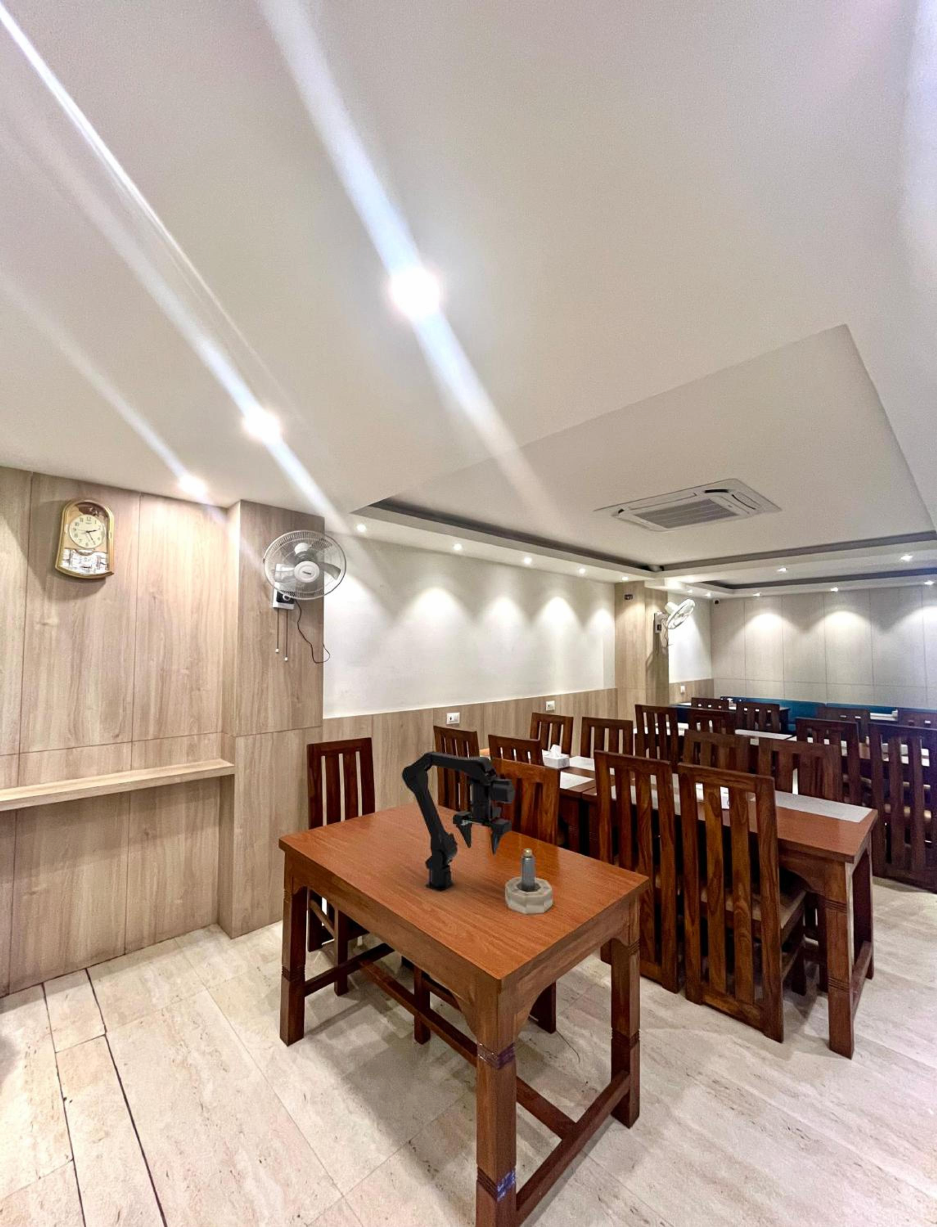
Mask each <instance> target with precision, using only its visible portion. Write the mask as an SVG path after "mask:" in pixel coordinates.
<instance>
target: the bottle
mask: <svg viewBox="0 0 937 1227" xmlns="http://www.w3.org/2000/svg"><path fill="white" fill-rule="evenodd" d="M520 857H521V858H520V860H521V864H520V865H521V866H520V867H521V872H520V873H521V874H520V877H522V891H524V892H535V878H536V862H535V861H536V860H535V859H536V858H535V855H533V850H532V849H531V848H524V849H523V854H522V855H521V856H520Z"/></svg>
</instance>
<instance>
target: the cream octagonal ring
mask: <svg viewBox="0 0 937 1227" xmlns="http://www.w3.org/2000/svg"><path fill="white" fill-rule="evenodd" d="M504 891H505V892H504V894H505V895H504V899H505V902H506V905H507V906H508V908H509V909H510V910H513V911H514V912H518V913H521V914H524V915H533V914H543V913H546V911H547V910H548V909H550V908H551V907H552V906H553V888H552V886H551V885H550V883H549V882H548V881H547V880H546V879H542V878H538V877H535V892H524V891H522V877H521V876H519V877H518V876H517V877H513V878H511V879H510V880H508V882H506V883H505V884H504Z"/></svg>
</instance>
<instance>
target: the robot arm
mask: <svg viewBox="0 0 937 1227" xmlns="http://www.w3.org/2000/svg"><path fill="white" fill-rule="evenodd" d="M435 766H436V767H439V768H444V769H449V770H455V771H459V772H462V773H464V774H465V775H466V776H467V777H468V776H469V778H468V779H467V780H465V784H466V785H471V802H470V803H469V807H470V808H471V811H465V810H461V811H459V812H457V813H455V814H453V816H452V824H453V825H455V828H457V829H458V831H459V832H460V835H461V836H462V837H463V838H462V839H463V840H464V842H465V844H466V846H467V848H468V849H471V847H472V828H473V824H474V825H478V826H482V827H486V828H490V831H491V833H490V834H489V836H490V844H491V845H490V846H491V853H492V855H493V856H494V855H496V854H497V852H498V848H499V846H500V842H501V839H502V837H503V836H504V835H506V834H507V833H509V832H510V831H512V830H513V829H512V826H513V824H512V822H511V821H510V820H508V819H504V818H501V812H502V807H499V806H495V805H494V803H493V802H496V803H502V804H503V803H504V804H512V803H513V802H514V799H515V793H516V790H515V787H514V784H513V783H512V779H509V778H508V779H503V778H500V776H499V774H498V773H497V771H496V769H495V768H494V766H493V762H492V760H491V759H490V758H489V757H487V756H481V755H480V756H479V755H478V756H469V757H464V756H461V755H460V756H459V755H454V754H448V753H445V752H444V753H443V752H437V751H435V750H431V751H428V752H425V753H424V754H423V755H422V756H421V757H419V759H417V760H415V761H414V762H413V763H411V764H410V765H407V766H406V767H404V768H403V770H402V772H401V779H402V781H403V782H404V785H405V786H406V787H407V789H408V790H409V791H411V793H413V794H414V797H415V799H416V802H417V804H418V807H419V810H420V813H421V815H422V817H423V821H424V822H425V823H424V824H425V825H426V828H427V831H428V833H429V836H430V841H429V842H430V843H429V844H430V846H429V847H430V848H429V849H430V852H431V855H430V856H429V858H427V859H426V860H425V861H424V863H425V864H424V865H425V867H426V869H427V870H428V882H427V883H426V884H425V886H426V887H428V888H431V889H434V890H437V891H438V892H442V891H444V890H445V889H447V888H449V887H451V885H453V884H454V881H452V870H451V865H450V863H452V862H453V860H454V858H455V857H456V856H457V854H458V845H459V844H458V842H457V841H456V839H455V836H454V835H455V834H454V833H453V832H451V833H450V834H449V833H448V832H447V831H446V830H445V827H444V824H443V822H442V820H441V818H440V815H439V812H438V809H437V807H436V804H435V802H434V799H433V798H432V797H433V796H432V794H431V792H430V789H429V775H428V772H429V771H430V770H432V767H435ZM487 775H488V776H487ZM495 818H499V819H497V820H493V819H495Z"/></svg>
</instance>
